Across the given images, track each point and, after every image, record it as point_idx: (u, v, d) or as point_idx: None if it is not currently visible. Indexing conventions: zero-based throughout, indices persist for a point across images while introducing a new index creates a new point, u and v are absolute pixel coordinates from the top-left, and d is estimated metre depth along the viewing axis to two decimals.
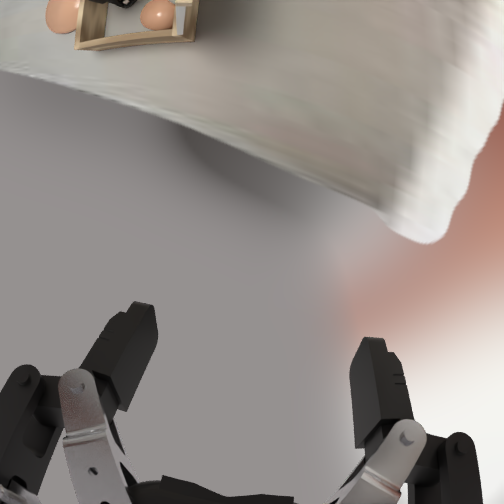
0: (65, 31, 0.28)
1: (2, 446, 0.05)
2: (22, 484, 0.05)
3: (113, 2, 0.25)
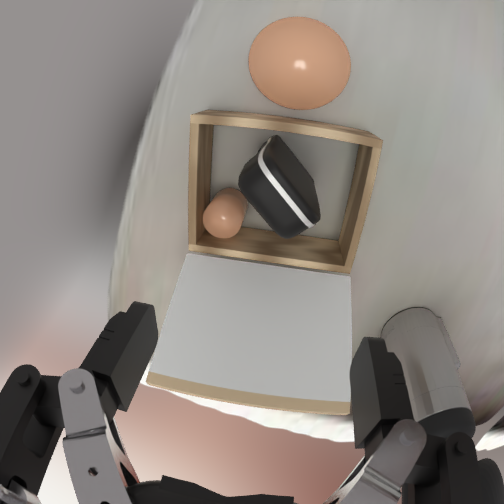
0: (250, 56, 0.26)
1: (2, 446, 0.05)
2: (22, 484, 0.05)
3: (262, 149, 0.29)
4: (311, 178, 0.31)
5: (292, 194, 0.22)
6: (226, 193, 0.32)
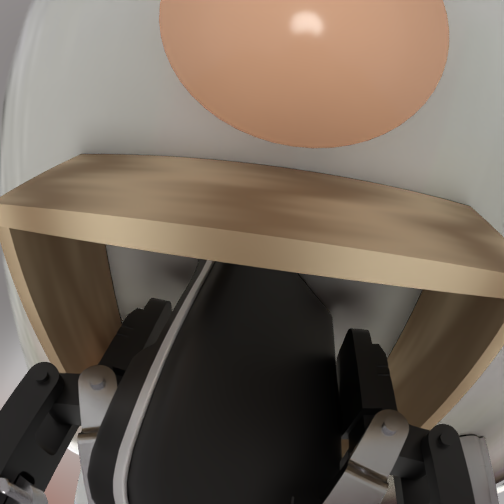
0: (165, 4, 0.08)
1: (13, 442, 0.05)
2: (30, 479, 0.05)
3: None
4: (328, 319, 0.13)
5: None
6: None
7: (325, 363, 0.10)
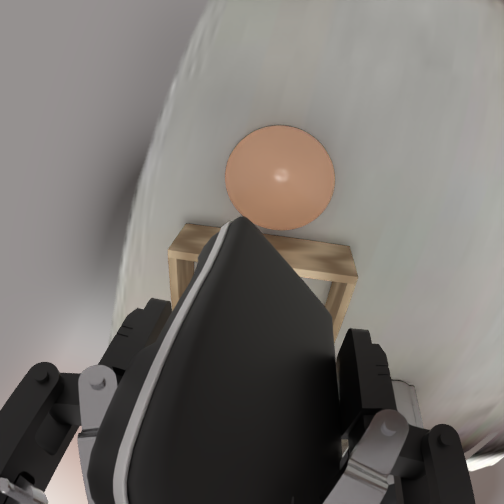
0: (227, 173, 0.28)
1: (13, 442, 0.05)
2: (30, 479, 0.05)
3: None
4: (328, 318, 0.13)
5: None
6: None
7: (325, 363, 0.11)
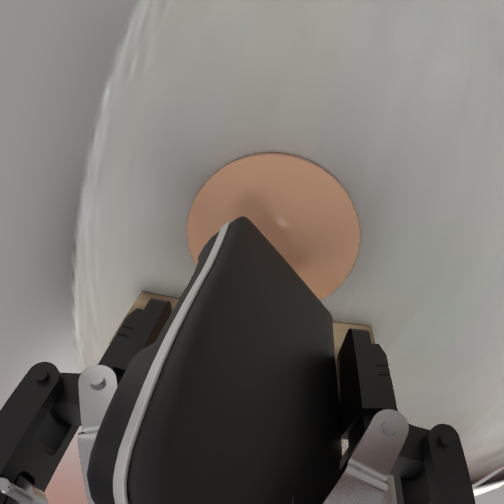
0: (190, 231, 0.18)
1: (13, 442, 0.05)
2: (30, 479, 0.05)
3: None
4: (328, 318, 0.13)
5: None
6: None
7: (325, 363, 0.10)
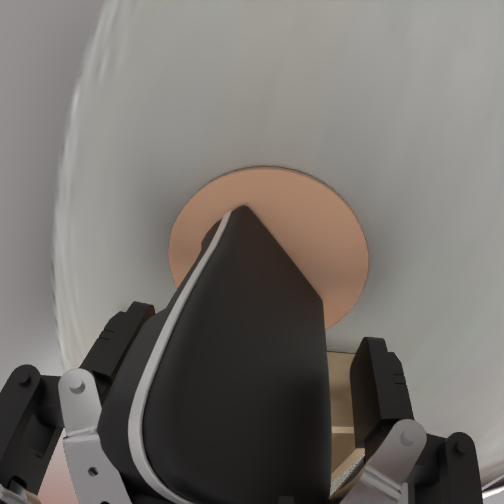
0: (171, 257, 0.15)
1: (2, 446, 0.05)
2: (22, 484, 0.05)
3: None
4: (319, 302, 0.14)
5: None
6: None
7: (316, 340, 0.12)
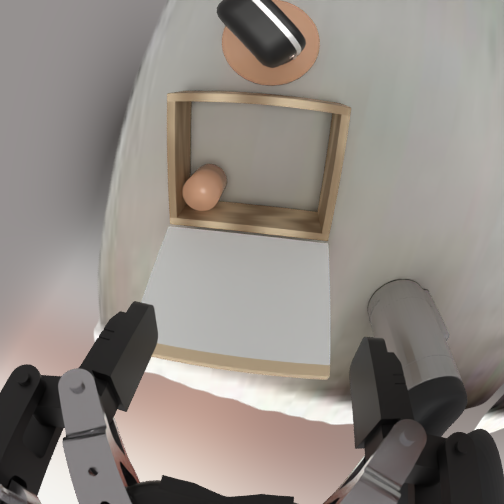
0: (223, 39, 0.26)
1: (2, 446, 0.05)
2: (22, 484, 0.05)
3: None
4: None
5: (273, 8, 0.16)
6: (205, 168, 0.33)
7: None
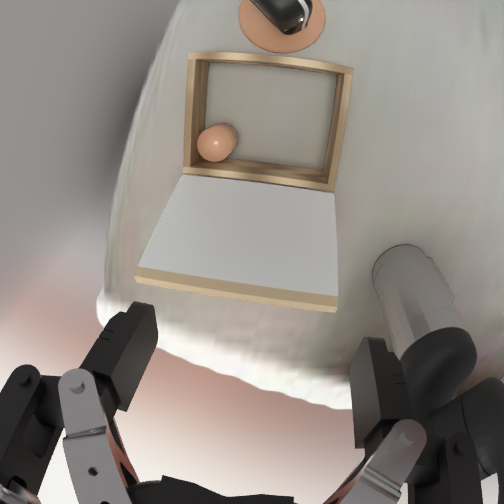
0: (240, 12, 0.27)
1: (2, 446, 0.05)
2: (22, 484, 0.05)
3: None
4: None
5: None
6: (218, 124, 0.34)
7: None
